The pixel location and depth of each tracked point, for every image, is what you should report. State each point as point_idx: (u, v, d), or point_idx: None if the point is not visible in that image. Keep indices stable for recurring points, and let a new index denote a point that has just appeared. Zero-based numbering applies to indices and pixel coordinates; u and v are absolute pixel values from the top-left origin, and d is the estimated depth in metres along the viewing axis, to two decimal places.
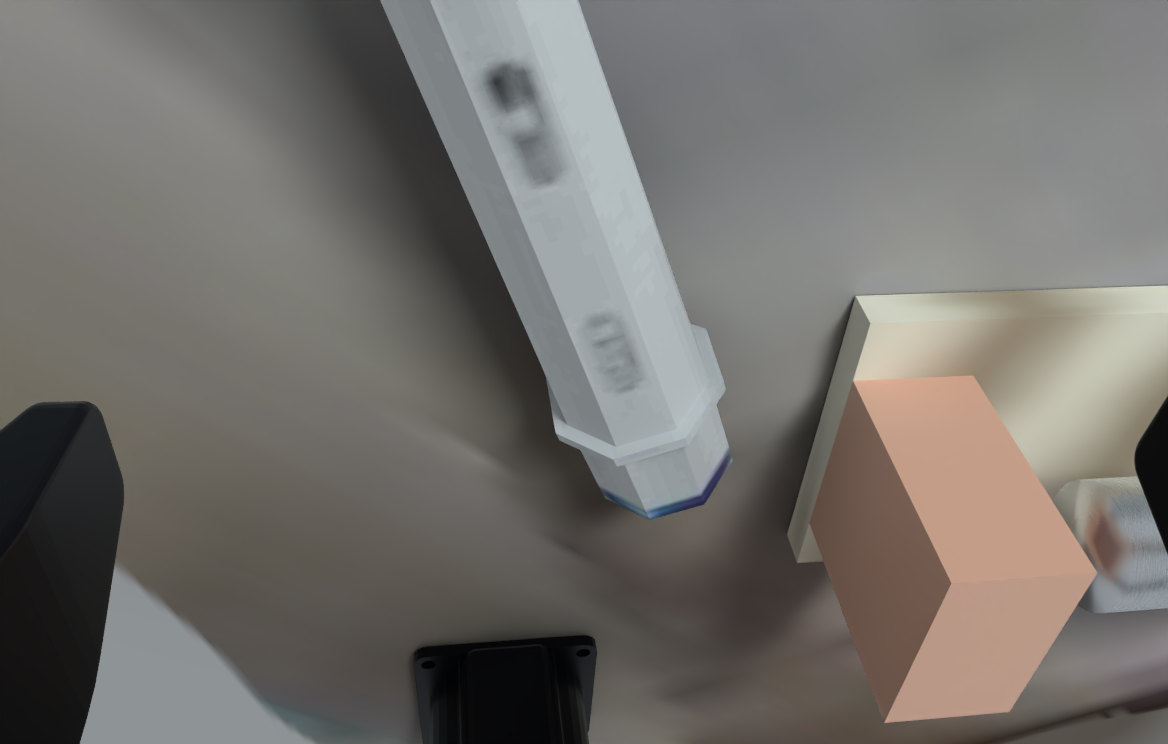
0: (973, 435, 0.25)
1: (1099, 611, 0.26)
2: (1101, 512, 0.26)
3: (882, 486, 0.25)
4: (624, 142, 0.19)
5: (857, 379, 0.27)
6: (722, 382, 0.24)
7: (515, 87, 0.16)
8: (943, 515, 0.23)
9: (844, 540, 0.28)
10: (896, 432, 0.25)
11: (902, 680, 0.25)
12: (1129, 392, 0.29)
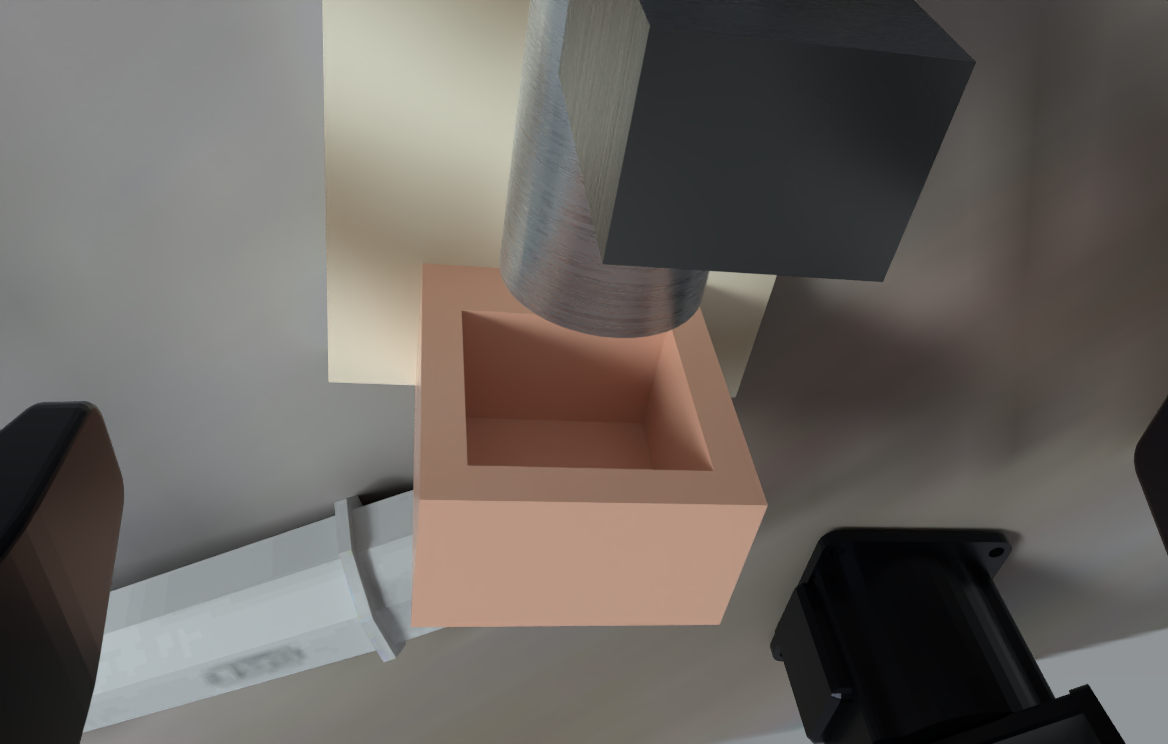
0: (419, 368, 0.20)
1: (672, 326, 0.16)
2: None
3: None
4: None
5: (414, 381, 0.23)
6: (338, 554, 0.24)
7: None
8: (413, 526, 0.19)
9: None
10: None
11: (624, 621, 0.19)
12: (487, 35, 0.18)
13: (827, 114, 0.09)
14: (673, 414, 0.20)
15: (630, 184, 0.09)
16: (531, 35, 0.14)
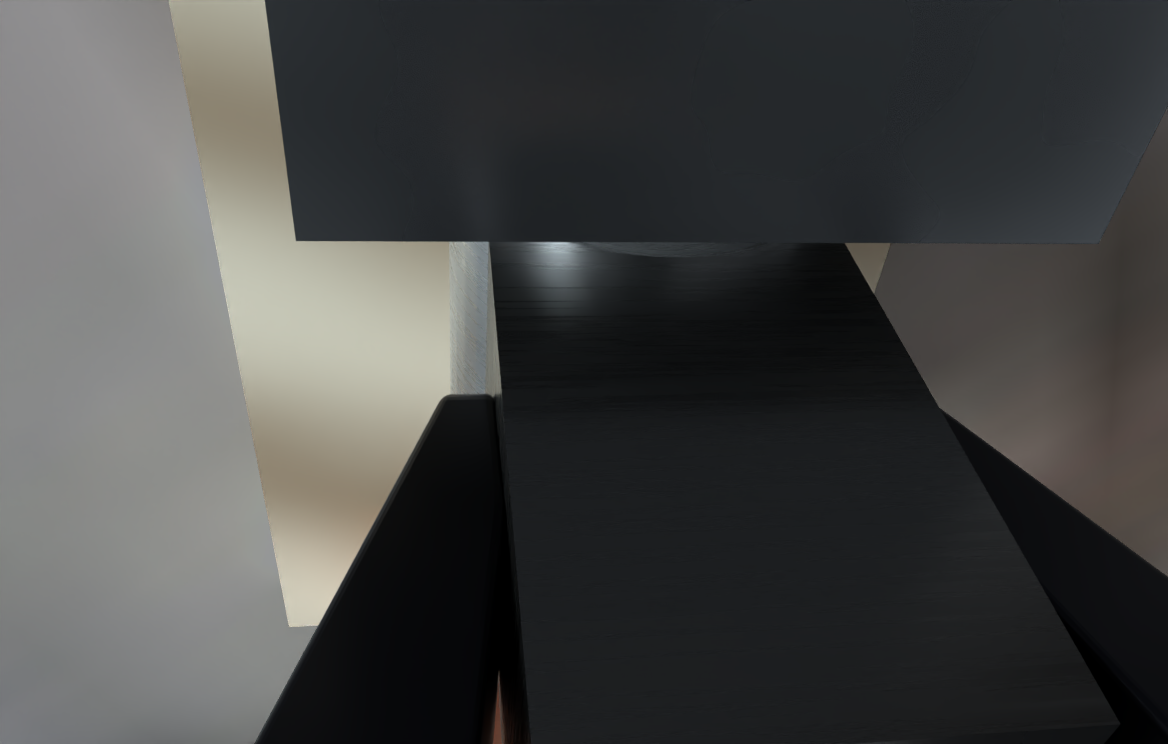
0: None
1: None
2: None
3: None
4: None
5: None
6: None
7: None
8: None
9: None
10: None
11: None
12: (429, 272, 0.14)
13: None
14: None
15: None
16: (453, 366, 0.10)
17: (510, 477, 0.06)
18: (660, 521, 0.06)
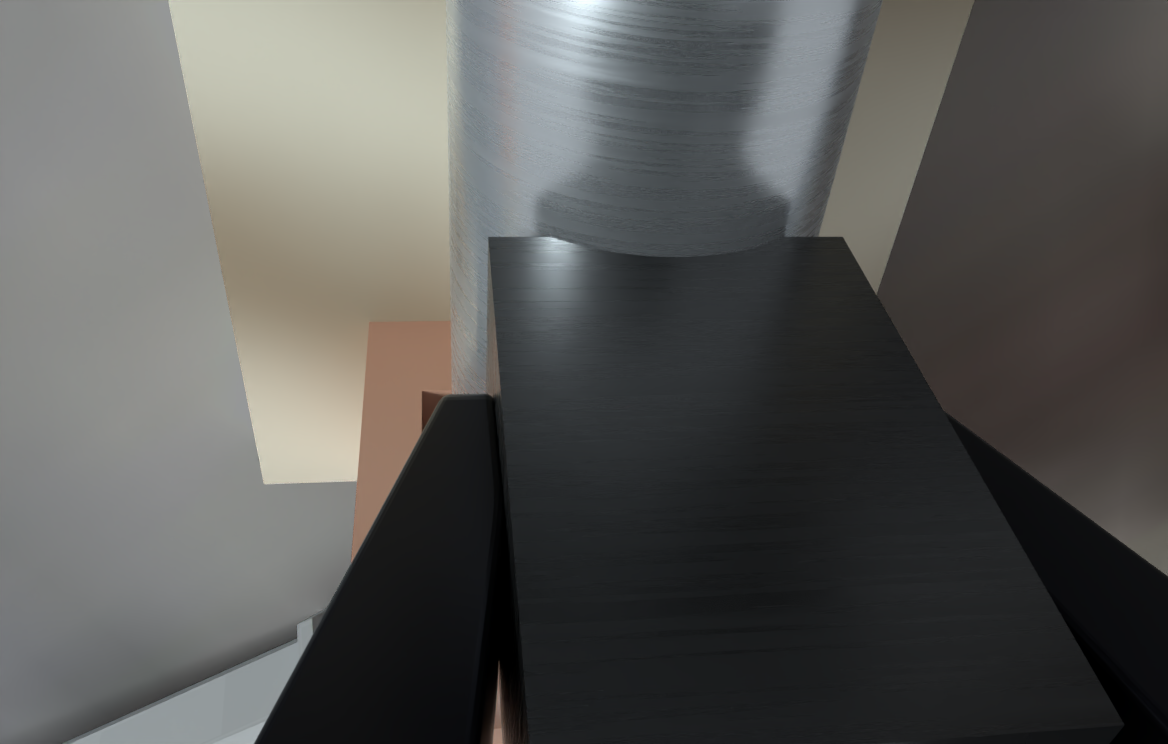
0: None
1: None
2: None
3: None
4: None
5: None
6: None
7: None
8: None
9: None
10: None
11: None
12: None
13: None
14: None
15: None
16: (454, 368, 0.10)
17: (509, 478, 0.06)
18: (659, 522, 0.06)
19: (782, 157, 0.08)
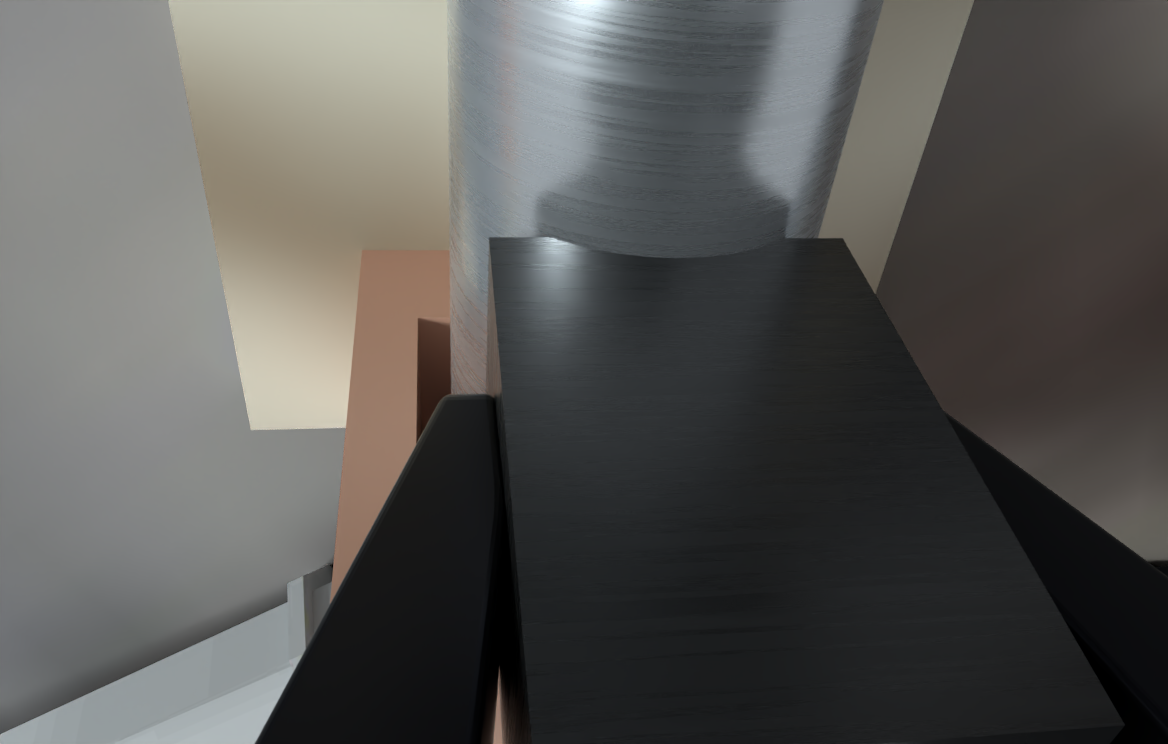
0: None
1: None
2: None
3: None
4: None
5: None
6: (289, 660, 0.17)
7: None
8: None
9: None
10: None
11: None
12: None
13: None
14: None
15: None
16: (453, 368, 0.10)
17: (510, 478, 0.06)
18: (660, 522, 0.06)
19: (782, 159, 0.08)
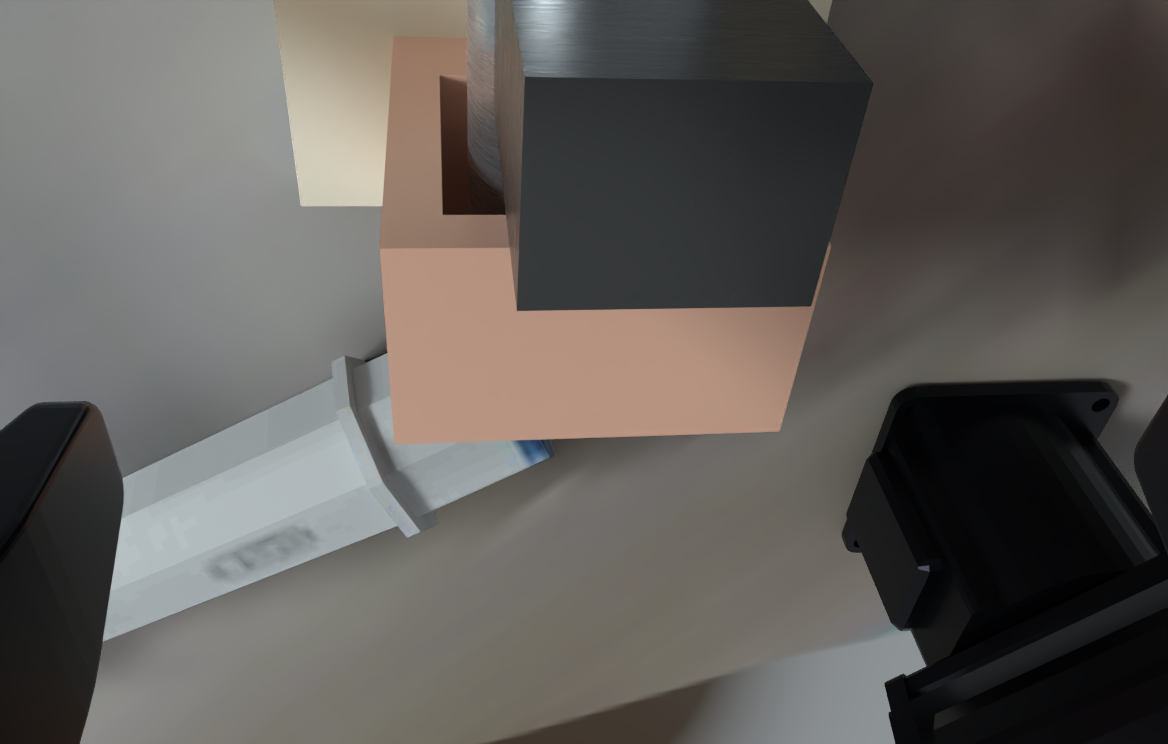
0: None
1: None
2: None
3: None
4: None
5: None
6: (336, 412, 0.21)
7: None
8: None
9: None
10: None
11: (660, 431, 0.15)
12: None
13: (724, 146, 0.09)
14: None
15: (531, 231, 0.09)
16: (469, 66, 0.14)
17: None
18: (605, 12, 0.09)
19: None
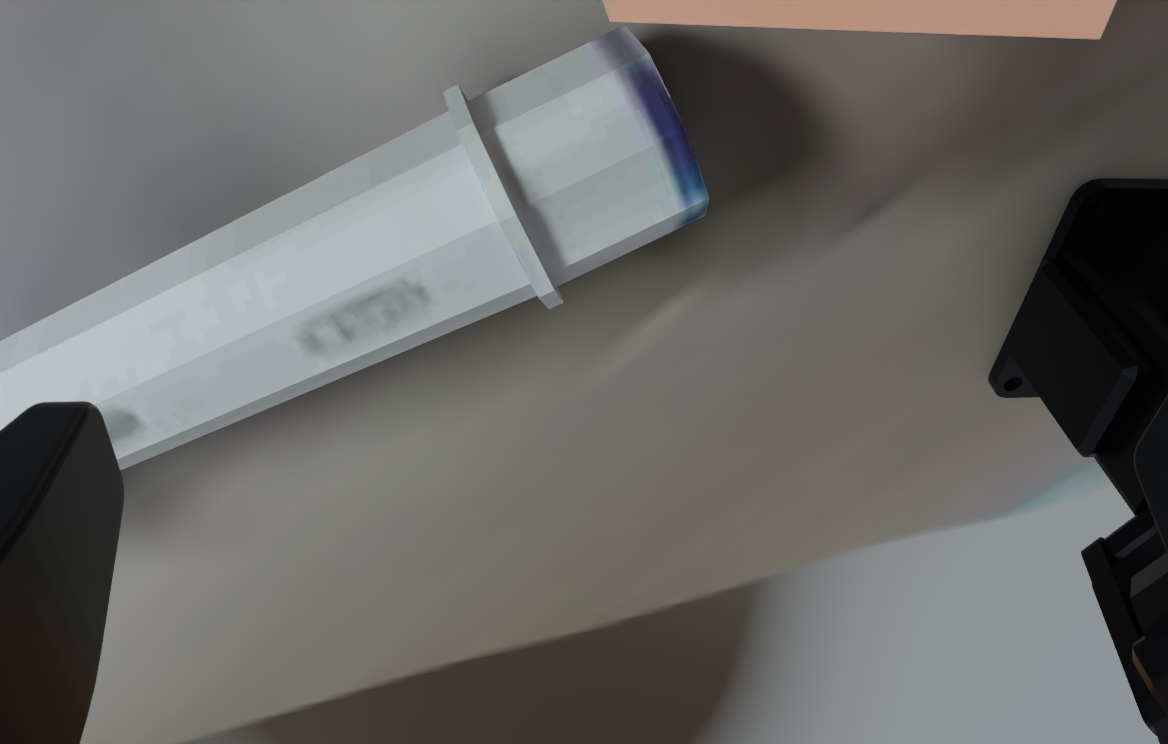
0: None
1: None
2: None
3: None
4: (103, 324, 0.18)
5: None
6: (456, 132, 0.17)
7: None
8: None
9: None
10: None
11: (949, 31, 0.12)
12: None
13: None
14: None
15: None
16: None
17: None
18: None
19: None
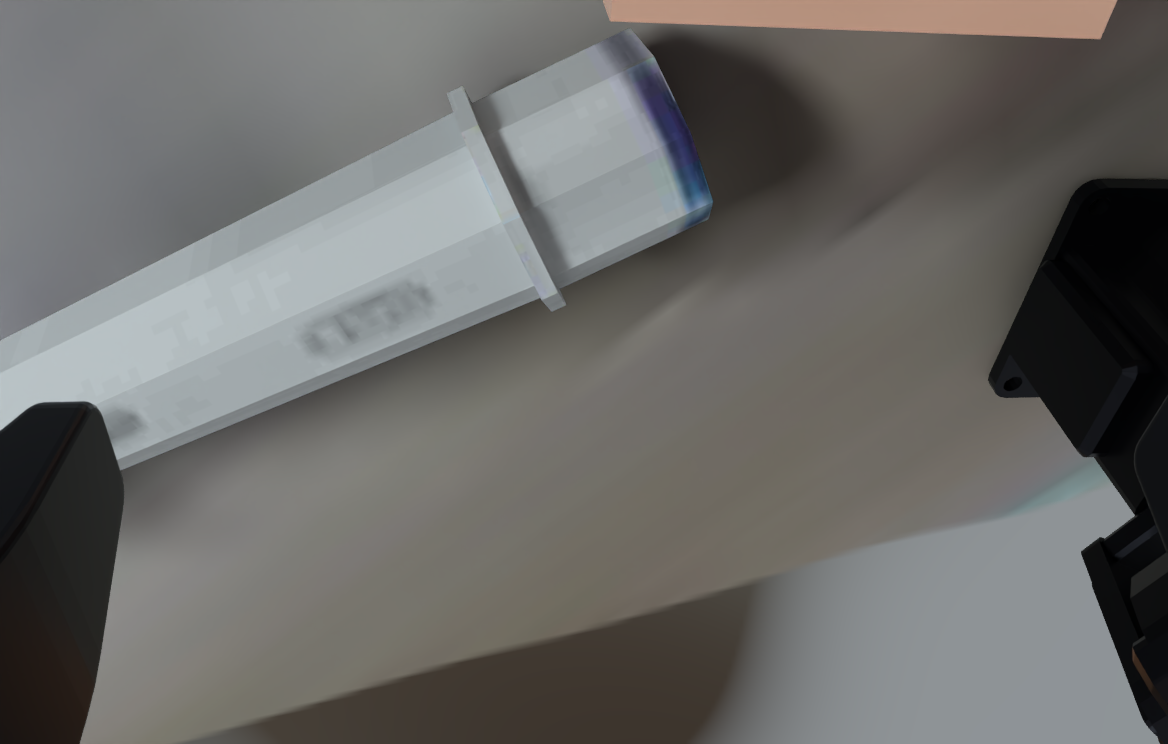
0: None
1: None
2: None
3: None
4: (105, 324, 0.18)
5: None
6: (461, 133, 0.17)
7: None
8: None
9: None
10: None
11: (949, 30, 0.12)
12: None
13: None
14: None
15: None
16: None
17: None
18: None
19: None
